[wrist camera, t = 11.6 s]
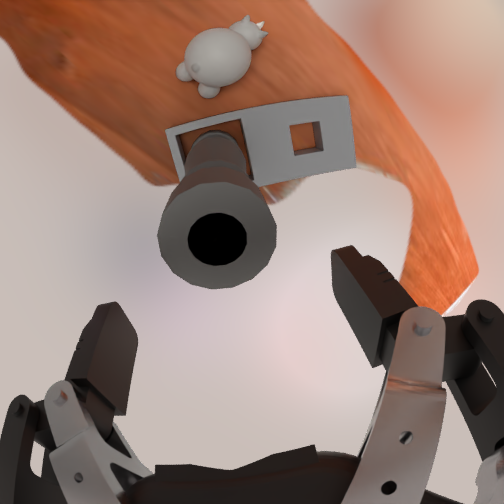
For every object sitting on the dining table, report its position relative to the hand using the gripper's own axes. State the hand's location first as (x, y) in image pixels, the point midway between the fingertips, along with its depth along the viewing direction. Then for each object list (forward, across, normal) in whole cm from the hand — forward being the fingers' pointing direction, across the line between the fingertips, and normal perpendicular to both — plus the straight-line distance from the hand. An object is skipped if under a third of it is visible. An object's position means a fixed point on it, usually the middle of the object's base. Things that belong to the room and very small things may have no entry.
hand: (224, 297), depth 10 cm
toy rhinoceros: (+29, -4, -13) cm, 32 cm away
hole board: (+29, -6, 0) cm, 30 cm away
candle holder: (+29, 0, 0) cm, 29 cm away
